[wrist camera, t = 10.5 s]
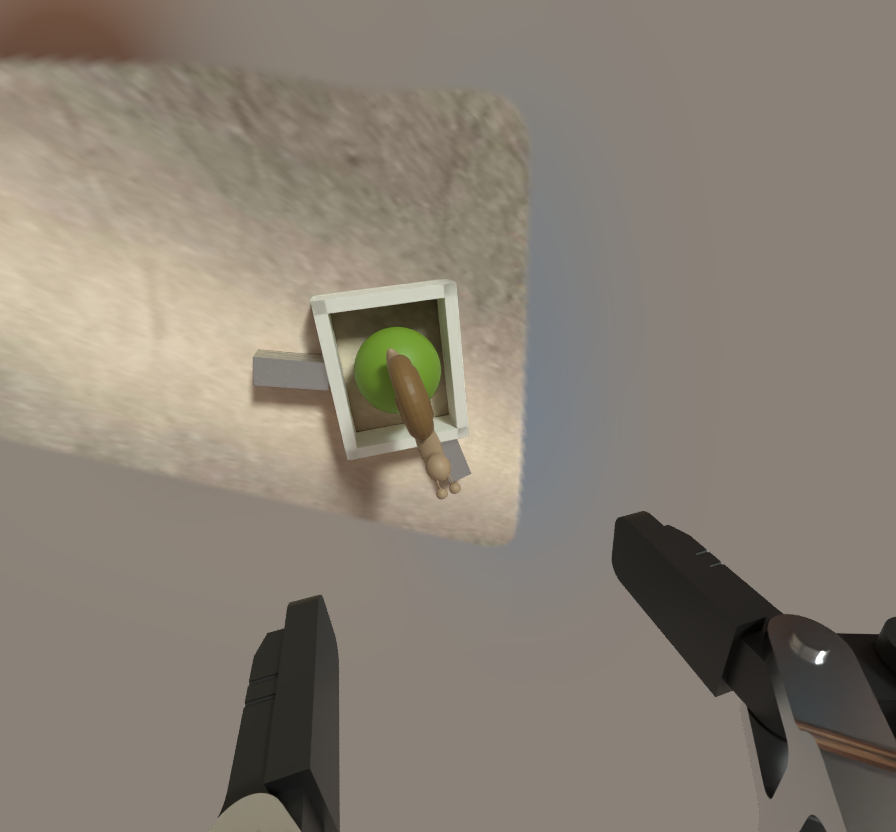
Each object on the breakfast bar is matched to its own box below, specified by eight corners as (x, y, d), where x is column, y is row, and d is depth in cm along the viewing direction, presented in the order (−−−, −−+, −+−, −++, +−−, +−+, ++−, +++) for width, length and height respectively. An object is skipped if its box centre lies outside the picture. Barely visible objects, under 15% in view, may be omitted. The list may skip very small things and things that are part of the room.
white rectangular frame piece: (298, 503, 31) (294, 523, 28) (236, 305, 24) (226, 312, 22) (465, 467, 33) (474, 483, 31) (448, 278, 27) (457, 282, 24)
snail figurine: (377, 418, 29) (397, 521, 19) (339, 337, 27) (338, 404, 16) (445, 390, 30) (504, 476, 19) (416, 307, 27) (465, 353, 16)
